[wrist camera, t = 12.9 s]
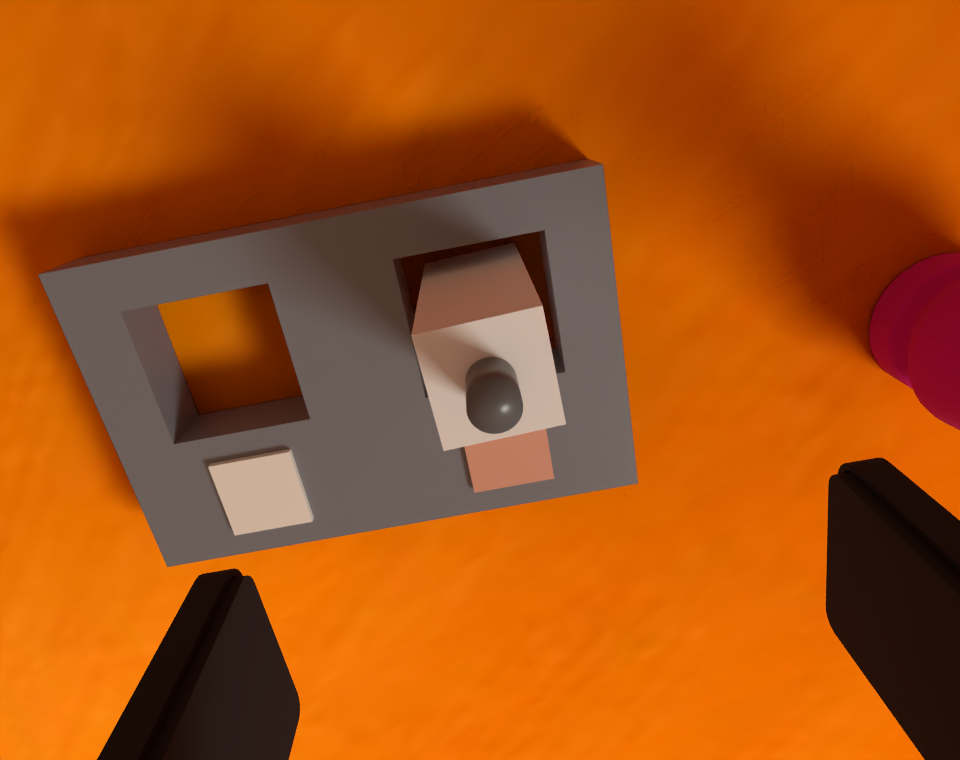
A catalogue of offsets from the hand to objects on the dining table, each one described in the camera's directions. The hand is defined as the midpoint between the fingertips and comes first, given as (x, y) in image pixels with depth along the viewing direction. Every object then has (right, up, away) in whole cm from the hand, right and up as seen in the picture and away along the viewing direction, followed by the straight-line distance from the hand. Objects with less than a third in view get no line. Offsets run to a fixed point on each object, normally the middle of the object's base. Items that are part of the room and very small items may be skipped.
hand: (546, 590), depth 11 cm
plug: (-1, +7, +19) cm, 20 cm away
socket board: (-6, +4, +20) cm, 21 cm away
